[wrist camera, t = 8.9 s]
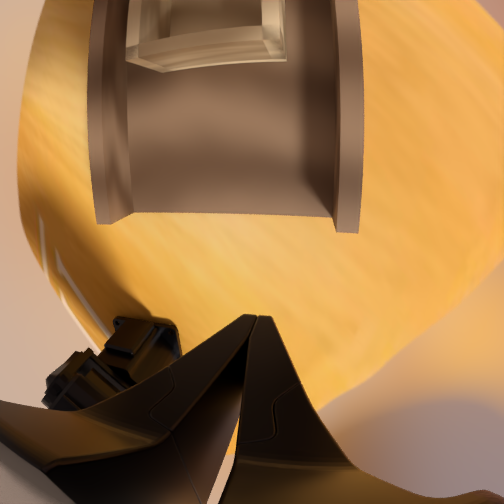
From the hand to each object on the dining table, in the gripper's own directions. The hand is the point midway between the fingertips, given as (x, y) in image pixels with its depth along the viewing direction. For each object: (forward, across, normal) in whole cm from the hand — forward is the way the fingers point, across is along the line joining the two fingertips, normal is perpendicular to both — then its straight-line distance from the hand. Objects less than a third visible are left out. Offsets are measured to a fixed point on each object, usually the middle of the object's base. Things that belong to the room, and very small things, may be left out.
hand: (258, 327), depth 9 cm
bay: (+12, +4, -10) cm, 16 cm away
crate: (+11, +4, -14) cm, 18 cm away
